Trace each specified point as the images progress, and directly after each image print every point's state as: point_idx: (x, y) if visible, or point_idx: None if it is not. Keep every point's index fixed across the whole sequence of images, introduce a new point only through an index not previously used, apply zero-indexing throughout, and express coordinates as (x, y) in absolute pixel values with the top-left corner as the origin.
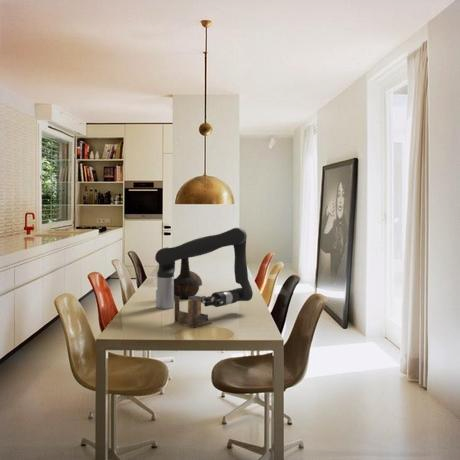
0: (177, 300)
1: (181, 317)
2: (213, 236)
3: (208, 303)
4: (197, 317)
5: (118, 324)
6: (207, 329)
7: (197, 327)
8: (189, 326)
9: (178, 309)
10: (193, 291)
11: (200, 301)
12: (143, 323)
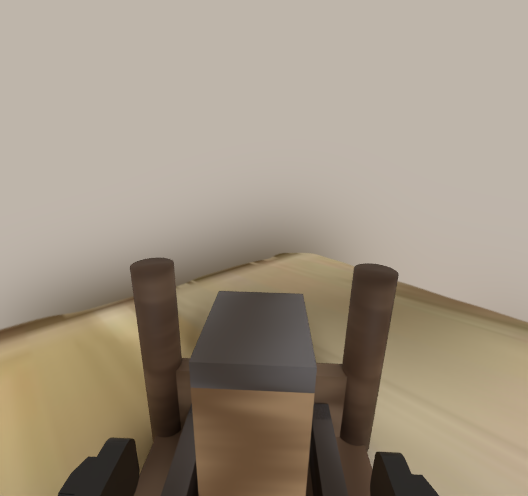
0: (351, 292)
1: None
2: None
3: (65, 494)
4: (145, 383)
5: (433, 299)
6: (62, 447)
7: (153, 439)
8: None
9: (343, 359)
10: None
11: (196, 409)
12: (416, 339)
